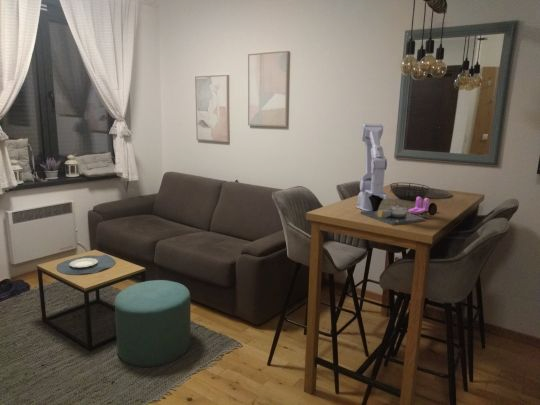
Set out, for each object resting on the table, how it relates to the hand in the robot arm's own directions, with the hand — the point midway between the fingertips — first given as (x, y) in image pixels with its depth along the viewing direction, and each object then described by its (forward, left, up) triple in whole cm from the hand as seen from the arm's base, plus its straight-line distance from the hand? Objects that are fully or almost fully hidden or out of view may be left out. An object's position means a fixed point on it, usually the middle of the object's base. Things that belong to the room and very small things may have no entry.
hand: (375, 211), depth 198 cm
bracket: (0, +28, -3) cm, 28 cm away
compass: (+11, +23, -3) cm, 26 cm away
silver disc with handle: (+6, +5, -1) cm, 8 cm away
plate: (+4, +7, -3) cm, 9 cm away
